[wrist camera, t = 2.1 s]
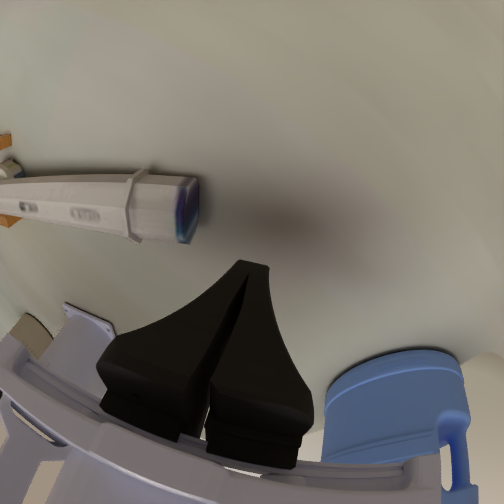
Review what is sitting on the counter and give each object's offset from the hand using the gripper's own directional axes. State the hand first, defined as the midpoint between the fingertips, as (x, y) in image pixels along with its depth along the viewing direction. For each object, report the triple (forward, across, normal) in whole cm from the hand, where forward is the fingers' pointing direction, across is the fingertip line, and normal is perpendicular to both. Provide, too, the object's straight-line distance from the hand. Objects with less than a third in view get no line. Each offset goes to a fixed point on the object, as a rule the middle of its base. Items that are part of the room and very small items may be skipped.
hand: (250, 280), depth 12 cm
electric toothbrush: (+6, +17, 0) cm, 18 cm away
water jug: (+6, -17, +16) cm, 24 cm away
